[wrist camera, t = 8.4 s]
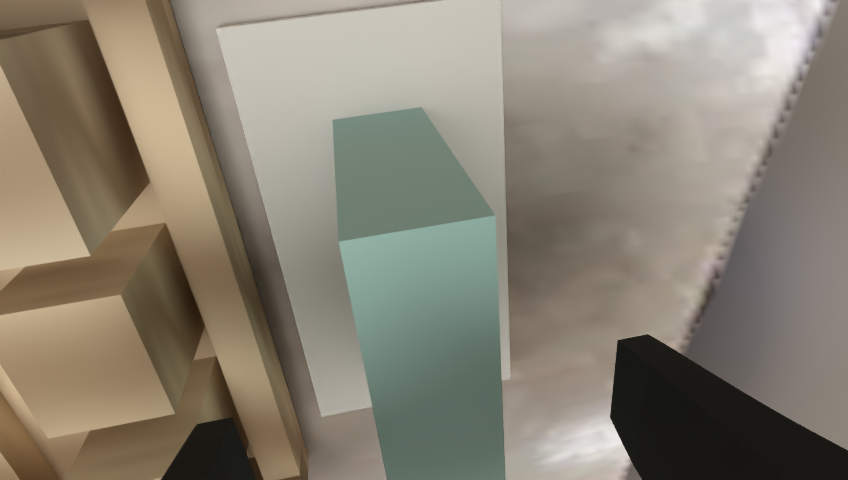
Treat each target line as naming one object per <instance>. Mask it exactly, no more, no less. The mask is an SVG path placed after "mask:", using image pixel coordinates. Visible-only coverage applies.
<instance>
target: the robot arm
mask: <svg viewBox="0 0 848 480" xmlns="http://www.w3.org/2000/svg"><path fill="white" fill-rule="evenodd" d="M610 418H611V420H612V422H613V424H614V426H615V428H616V431H617V433H618V435H619V437H620V439H621V441H622V443H623V445H624V447H625V449H626V451H627V453H628V455H629V457H630V459H631V461H632V463H633V465H634V467H635V469H636V470H637V472H638V473H639V475H640V477H641V478H642V480H848V450H846V449H844V448H842V447H840V446H838V445H836V444H834V443H833V442H831V441H829V440H827V439H825V438H823V437H822V436H819V435H818V434H816V433H814V432H812V431H810V430H808V429H806V428H805V427H803V426H801V425H799V424H797V423H796V422H794V421H792V420H790V419H789V418H787V417H785V416H783V415H781V414H780V413H778V412H776V411H774V410H773V409H771V408H769V407H767V406H766V405H764V404H762V403H761V402H759V401H757V400H756V399H754V398H752V397H751V396H749V395H747V394H745V393H744V392H742V391H740V390H739V389H737V388H735V387H734V386H732V385H731V384H729V383H727V382H726V381H724V380H722V379H721V378H719V377H717V376H716V375H714V374H712V373H711V372H709V371H707V370H706V369H704V368H702V367H701V366H700V365H698V364H696V363H695V362H693V361H691V360H690V359H688V358H687V357H685V356H683V355H682V354H680V353H678V352H677V351H675V350H674V349H672V348H670V347H669V346H667V345H665V344H664V343H662V342H660V341H659V340H657V339H655V338H654V337H652V336H650V335H648V334H647V335H642V336H637V337H632V338H627V339H622V340H618V343H617V353H616V363H615V374H614V384H613V394H612V404H611V414H610ZM161 480H257V479H256V477H255V474H254V472H253V469H252V466H251V464H250V461H249V459H248V456H247V453H246V451H245V448H244V446H243V443H242V441H241V438H240V435H239V433H238V430H237V428H236V425H235V422H234V420H233V417H230V418H225V419H220V420H215V421H210V422H205V423H200V424H197V425H196V426H195V427H194V429H193V430H192V432H191V433H190V435H189V436H188V438H187V439H186V441H185V442H184V444H183V445H182V447H181V449H180V450H179V452H178V453H177V455H176V456H175V458H174V460H173V461H172V463H171V464H170V466H169V467H168V469H167V471H166V472H165V474H164V475H163V477H162V478H161Z"/></svg>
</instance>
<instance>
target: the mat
mask: <svg viewBox="0 0 848 480" xmlns="http://www.w3.org/2000/svg"><path fill="white" fill-rule="evenodd" d="M216 32H217V35H218V39H219V43H220V46H221V50H222V54H223V57H224V61H225V65H226V68H227V72H228V76H229V79H230V83H231V87H232V90H233V94H234V98H235V101H236V105H237V109H238V112H239V116H240V120H241V123H242V127H243V131H244V134H245V138H246V142H247V145H248V149H249V153H250V156H251V160H252V164H253V167H254V171H255V175H256V178H257V182H258V186H259V189H260V193H261V197H262V200H263V204H264V208H265V211H266V215H267V219H268V222H269V226H270V230H271V233H272V237H273V241H274V244H275V248H276V252H277V255H278V259H279V263H280V266H281V270H282V274H283V277H284V281H285V285H286V288H287V292H288V296H289V299H290V303H291V307H292V310H293V314H294V318H295V321H296V325H297V329H298V332H299V336H300V340H301V343H302V347H303V351H304V354H305V358H306V362H307V365H308V369H309V373H310V376H311V380H312V384H313V387H314V391H315V395H316V398H317V402H318V406H319V409H320V413H321V417H324V416H329V415H334V414H339V413H344V412H349V411H354V410H359V409H364V408H369V407H372V403H371V398H370V393H369V388H368V383H367V379H366V374H365V369H364V364H363V359H362V354H361V349H360V344H359V339H358V334H357V330H356V325H355V320H354V315H353V310H352V305H351V300H350V295H349V290H348V286H347V281H346V276H345V271H344V266H343V261H342V256H341V251H340V246H339V241H338V221H337V201H336V181H335V161H334V141H333V121H332V120H335V119H342V118H349V117H356V116H363V115H370V114H377V113H384V112H391V111H398V110H405V109H412V108H419V107H421V108H422V109H423V110H424V112H425V113H426V115H427V116H428V118H429V119H430V121H431V122H432V124H433V125H434V126H435V128H436V129H437V131H438V132H439V134H440V135H441V137H442V138H443V140H444V141H445V143H446V144H447V145H448V147H449V148H450V150H451V151H452V153H453V154H454V156H455V157H456V159H457V160H458V162H459V163H460V164H461V166H462V167H463V169H464V170H465V172H466V173H467V175H468V176H469V178H470V179H471V180H472V182H473V183H474V185H475V186H476V188H477V189H478V191H479V192H480V194H481V195H482V197H483V198H484V199H485V201H486V202H487V204H488V205H489V207H490V208H491V210H492V211H493V213H494V214H495V216H496V242H497V269H498V296H499V323H500V349H501V376H502V381H504V380H509V379H511V375H510V337H509V300H508V262H507V224H506V186H505V149H504V111H503V73H502V35H501V0H428V1H419V2H411V3H403V4H395V5H387V6H379V7H371V8H362V9H354V10H346V11H338V12H330V13H322V14H314V15H305V16H297V17H289V18H281V19H273V20H265V21H257V22H248V23H240V24H232V25H224V26H219V27H217V28H216Z"/></svg>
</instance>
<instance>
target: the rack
mask: <svg viewBox="0 0 848 480" xmlns="http://www.w3.org/2000/svg"><path fill="white" fill-rule="evenodd" d="M84 20H88V21H89V23H90V26H91V28H92V31H93V34H94V36H95V39H96V42H97V44H98V47H99V50H100V52H101V55H102V57H103V60H104V63H105V65H106V68H107V71H108V73H109V76H110V79H111V81H112V84H113V86H114V89H115V92H116V94H117V97H118V100H119V102H120V105H121V107H122V110H123V113H124V115H125V118H126V121H127V123H128V126H129V129H130V131H131V134H132V136H133V139H134V142H135V144H136V147H137V150H138V152H139V155H140V158H141V160H142V163H143V165H144V168H145V171H146V173H147V176H148V179H149V181H150V183H149V184H148V186H147V187H146V188H145V189H144V191H143V192H142V193H141V194H140V195H139V197H138V198H137V199H136V200H135V202H134V203H133V204H132V205H131V207H130V208H129V209H128V210H127V212H126V213H125V214H124V215H123V216H122V218H121V219H120V220H119V221H118V223H117V224H116V225H115V226H114V228H113V229H112V230H111V231H117V230H123V229H129V228H136V227H142V226H148V225H154V224H161V223H166V226H167V229H168V231H169V234H170V237H171V239H172V242H173V244H174V247H175V250H176V252H177V255H178V258H179V260H180V263H181V266H182V268H183V271H184V273H185V276H186V279H187V281H188V284H189V287H190V289H191V292H192V295H193V297H194V300H195V302H196V305H197V308H198V310H199V313H200V316H201V318H202V321H203V323H204V326H205V327H204V330H203V333H202V336H201V339H200V342H199V345H198V348H197V351H196V354H195V357H194V360H198V359H203V358H209V357H214V356H216V358H217V360H218V363H219V366H220V368H221V371H222V374H223V376H224V379H225V381H226V384H227V387H228V389H229V392H230V395H231V397H232V400H233V402H234V405H235V408H236V410H237V413H238V416H239V418H240V421H241V424H242V426H243V429H244V431H245V434H246V437H247V439H248V448H247V456H248V459H249V461H250V464H251V466H252V469H253V472H254V474H255V477H256V479H257V480H308V453H307V450H306V447H305V443H304V440H303V437H302V434H301V430H300V427H299V424H298V421H297V417H296V414H295V411H294V407H293V404H292V401H291V398H290V394H289V391H288V388H287V385H286V381H285V378H284V375H283V371H282V368H281V365H280V362H279V358H278V355H277V352H276V349H275V345H274V342H273V339H272V335H271V332H270V329H269V326H268V322H267V319H266V316H265V312H264V309H263V306H262V303H261V299H260V296H259V293H258V290H257V286H256V283H255V280H254V276H253V273H252V270H251V267H250V263H249V260H248V257H247V254H246V250H245V247H244V244H243V240H242V237H241V234H240V231H239V227H238V224H237V221H236V217H235V214H234V211H233V208H232V204H231V201H230V198H229V195H228V191H227V188H226V185H225V181H224V178H223V175H222V172H221V168H220V165H219V162H218V159H217V155H216V152H215V149H214V145H213V142H212V139H211V136H210V132H209V129H208V126H207V122H206V119H205V116H204V113H203V109H202V106H201V103H200V100H199V96H198V93H197V90H196V86H195V83H194V80H193V77H192V73H191V70H190V67H189V64H188V60H187V57H186V54H185V50H184V47H183V44H182V41H181V37H180V34H179V31H178V27H177V24H176V21H175V18H174V14H173V11H172V8H171V5H170V1H169V0H0V30H8V29H17V28H25V27H33V26H42V25H50V24H59V23H67V22H76V21H84ZM23 268H24V267H19V268H13V269H7V270H1V271H0V291H1V290H2V289H3V288H4V287H5V286H6V285H7V284H8V283H9V282H10V281H11V280H12V279H13V278H14V277H15V276H16V275H17V274H18V273H19V272H20V271H21V270H22V269H23ZM88 433H89V431H85V432H80V433H75V434H70V435H64V436H59V437H54V438H49V439H48V438H47V436H46V435H45V433H44V431H43V430H42V428H41V427H40V425H39V424H38V422H37V421H36V419H35V418H34V416H33V414H32V413H31V411H30V410H29V408H28V407H27V405H26V404H25V402H24V400H23V399H22V397H21V396H20V394H19V393H18V391H17V390H16V388H15V387H14V385H13V383H12V382H11V380H10V379H9V377H8V376H7V374H6V373H5V371H4V369H3V368H2V366H1V365H0V480H65V479H66V477H67V475H68V473H69V471H70V469H71V467H72V465H73V463H74V461H75V459H76V457H77V455H78V453H79V451H80V449H81V447H82V445H83V443H84V441H85V439H86V437H87V435H88Z"/></svg>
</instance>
